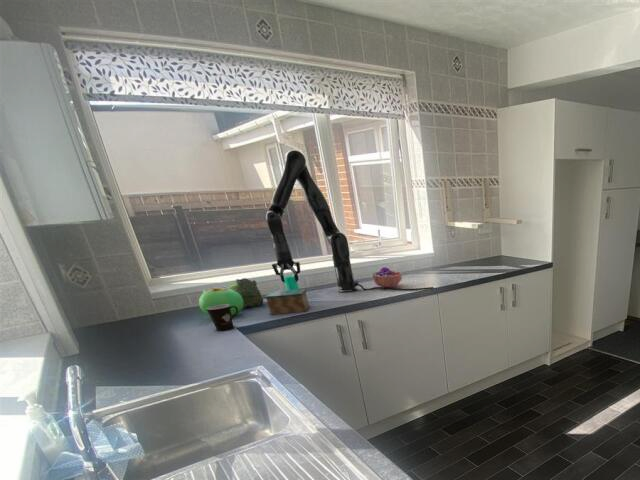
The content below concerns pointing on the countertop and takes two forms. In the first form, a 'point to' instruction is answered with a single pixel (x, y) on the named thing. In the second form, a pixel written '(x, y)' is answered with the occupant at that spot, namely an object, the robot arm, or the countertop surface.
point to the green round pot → (221, 299)
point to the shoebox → (287, 301)
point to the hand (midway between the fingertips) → (290, 281)
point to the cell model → (387, 278)
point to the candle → (290, 283)
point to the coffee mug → (222, 316)
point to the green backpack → (249, 292)
